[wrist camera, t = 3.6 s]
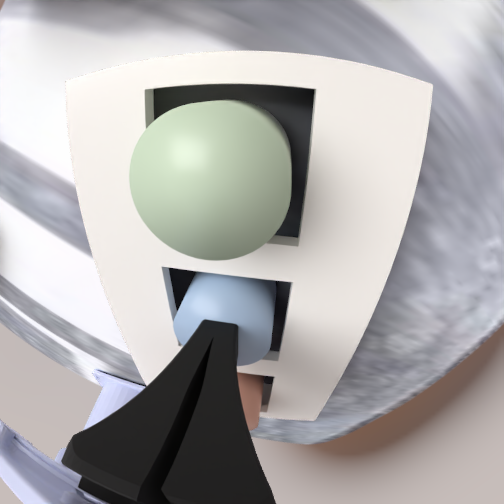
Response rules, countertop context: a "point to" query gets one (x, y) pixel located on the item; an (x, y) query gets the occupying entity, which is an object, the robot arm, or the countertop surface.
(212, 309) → the slate blue button
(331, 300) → the button panel
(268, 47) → the countertop surface
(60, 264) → the countertop surface
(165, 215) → the sage green button
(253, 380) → the terracotta button
